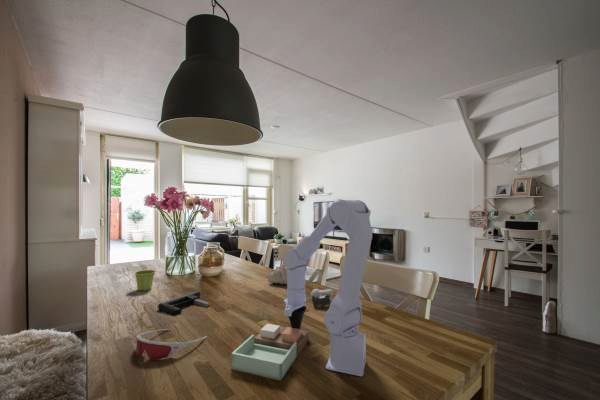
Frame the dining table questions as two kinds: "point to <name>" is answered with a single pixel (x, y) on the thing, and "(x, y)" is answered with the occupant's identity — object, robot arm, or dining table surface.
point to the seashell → (278, 275)
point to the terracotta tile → (291, 334)
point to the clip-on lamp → (321, 296)
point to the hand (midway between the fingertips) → (295, 330)
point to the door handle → (182, 303)
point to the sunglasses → (159, 346)
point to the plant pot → (144, 279)
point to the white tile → (270, 331)
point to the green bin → (263, 359)
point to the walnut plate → (282, 341)
